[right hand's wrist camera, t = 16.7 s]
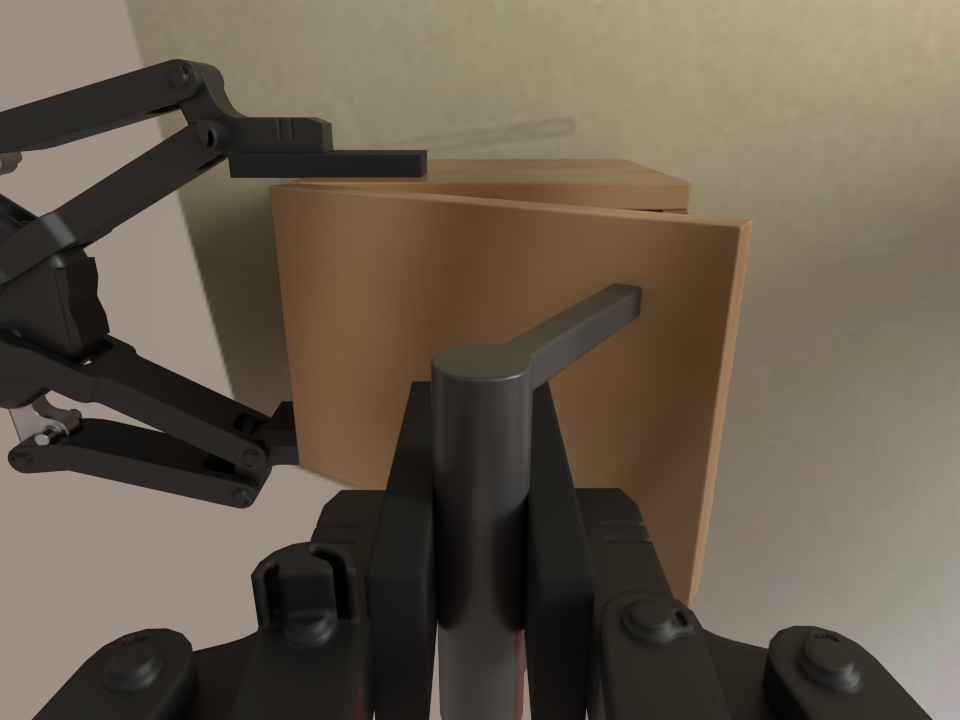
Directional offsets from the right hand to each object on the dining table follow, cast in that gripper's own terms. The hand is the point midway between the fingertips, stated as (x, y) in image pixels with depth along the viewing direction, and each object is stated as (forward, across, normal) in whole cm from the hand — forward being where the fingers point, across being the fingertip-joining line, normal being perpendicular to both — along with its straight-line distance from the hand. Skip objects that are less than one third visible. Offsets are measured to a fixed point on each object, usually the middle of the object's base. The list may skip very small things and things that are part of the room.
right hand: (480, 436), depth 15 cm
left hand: (+11, -2, 0) cm, 11 cm away
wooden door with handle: (+4, 0, 0) cm, 4 cm away
